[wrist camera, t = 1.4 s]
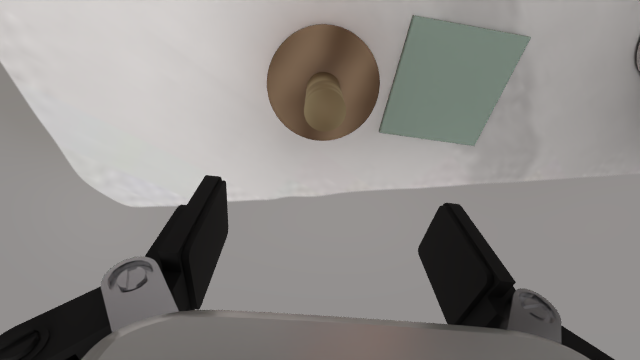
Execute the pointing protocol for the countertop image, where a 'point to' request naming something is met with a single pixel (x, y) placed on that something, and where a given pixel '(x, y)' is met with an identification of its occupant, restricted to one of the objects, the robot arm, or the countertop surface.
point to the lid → (323, 82)
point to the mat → (449, 80)
